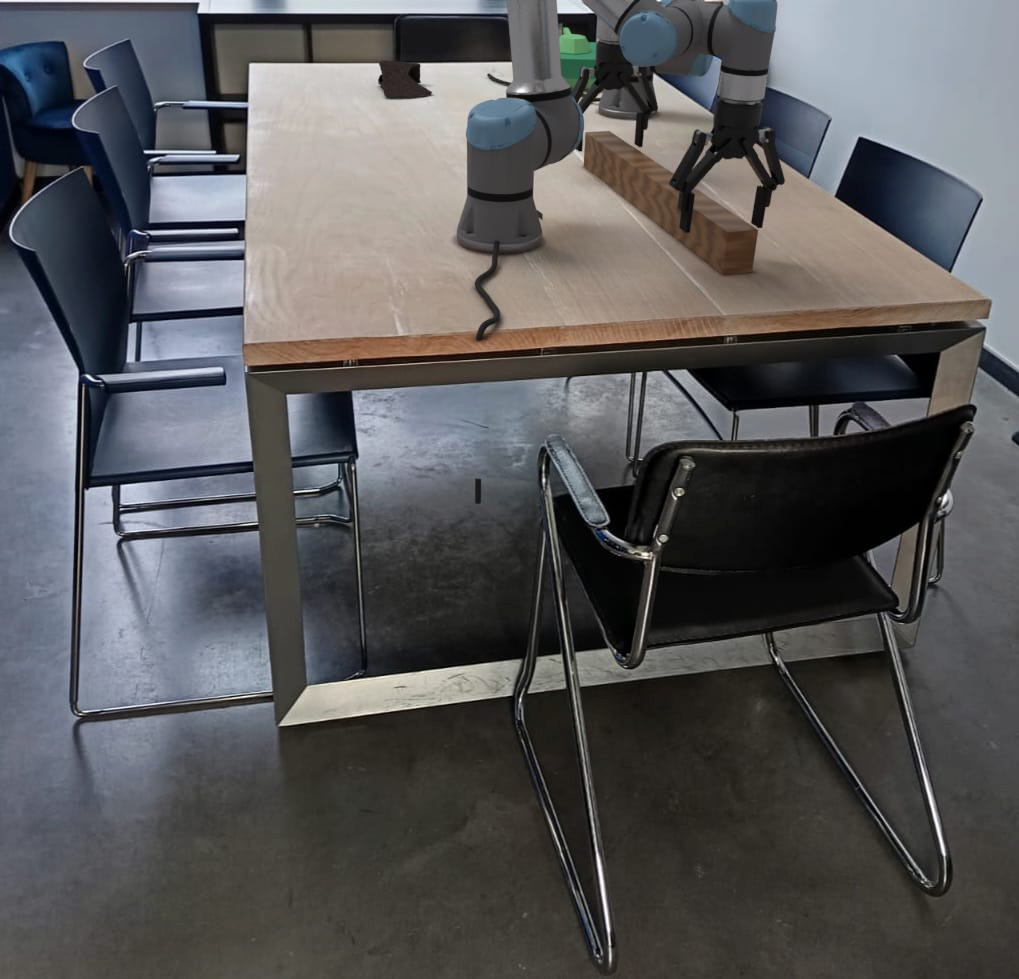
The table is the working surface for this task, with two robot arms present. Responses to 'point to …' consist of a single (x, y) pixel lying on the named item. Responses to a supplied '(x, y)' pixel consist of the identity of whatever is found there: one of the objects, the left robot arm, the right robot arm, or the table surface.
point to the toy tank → (576, 56)
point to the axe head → (401, 79)
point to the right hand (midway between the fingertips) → (608, 147)
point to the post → (671, 203)
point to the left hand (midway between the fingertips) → (720, 228)
